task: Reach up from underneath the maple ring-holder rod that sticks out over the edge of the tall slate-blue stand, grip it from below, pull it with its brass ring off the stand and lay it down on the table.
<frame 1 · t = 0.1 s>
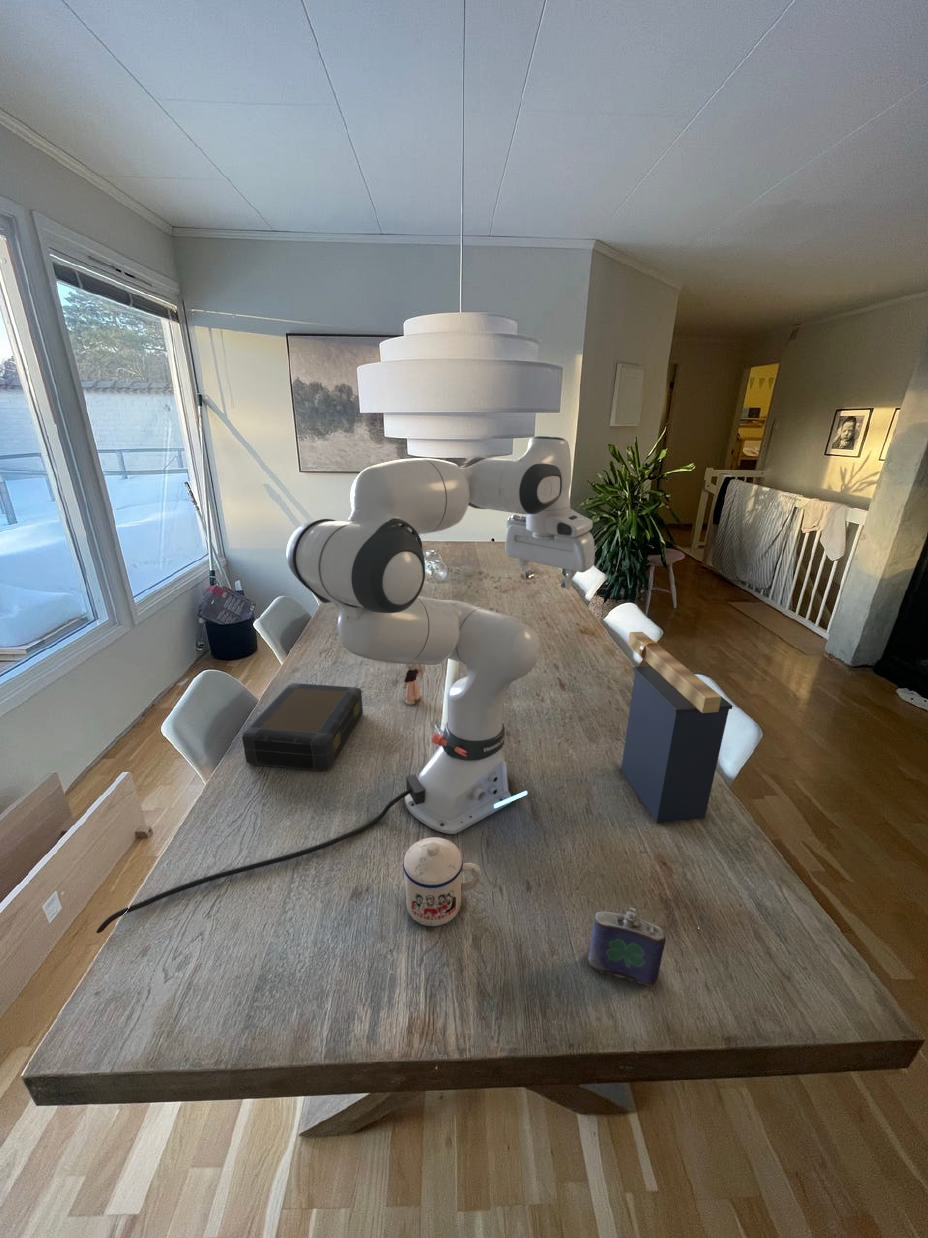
hand: (547, 582, 110), 39 cm above the table, tool pointing down, fingers open, 8 cm apart
teacup with lid: (442, 903, 81), on the table
stand: (660, 792, 106), on the table
ring rod: (667, 673, 101), point 25 cm above the table, touching stand
grandmother figurine: (412, 700, 140), on the table
flask: (621, 970, 72), on the table
black hard case: (308, 737, 124), on the table
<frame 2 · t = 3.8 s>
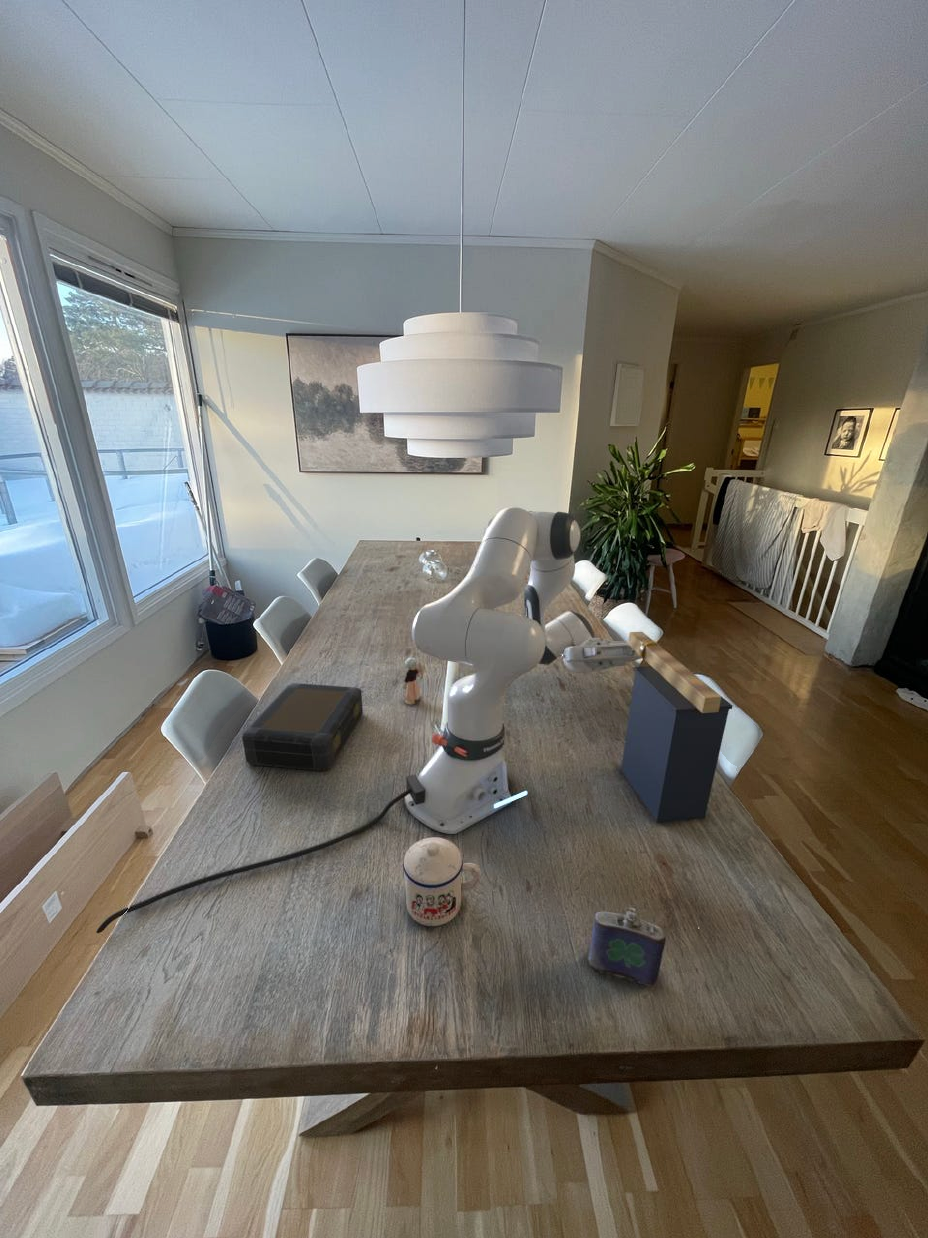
hand: (616, 649, 124), 20 cm above the table, tool pointing upward, fingers open, 8 cm apart
nothing on the table moved.
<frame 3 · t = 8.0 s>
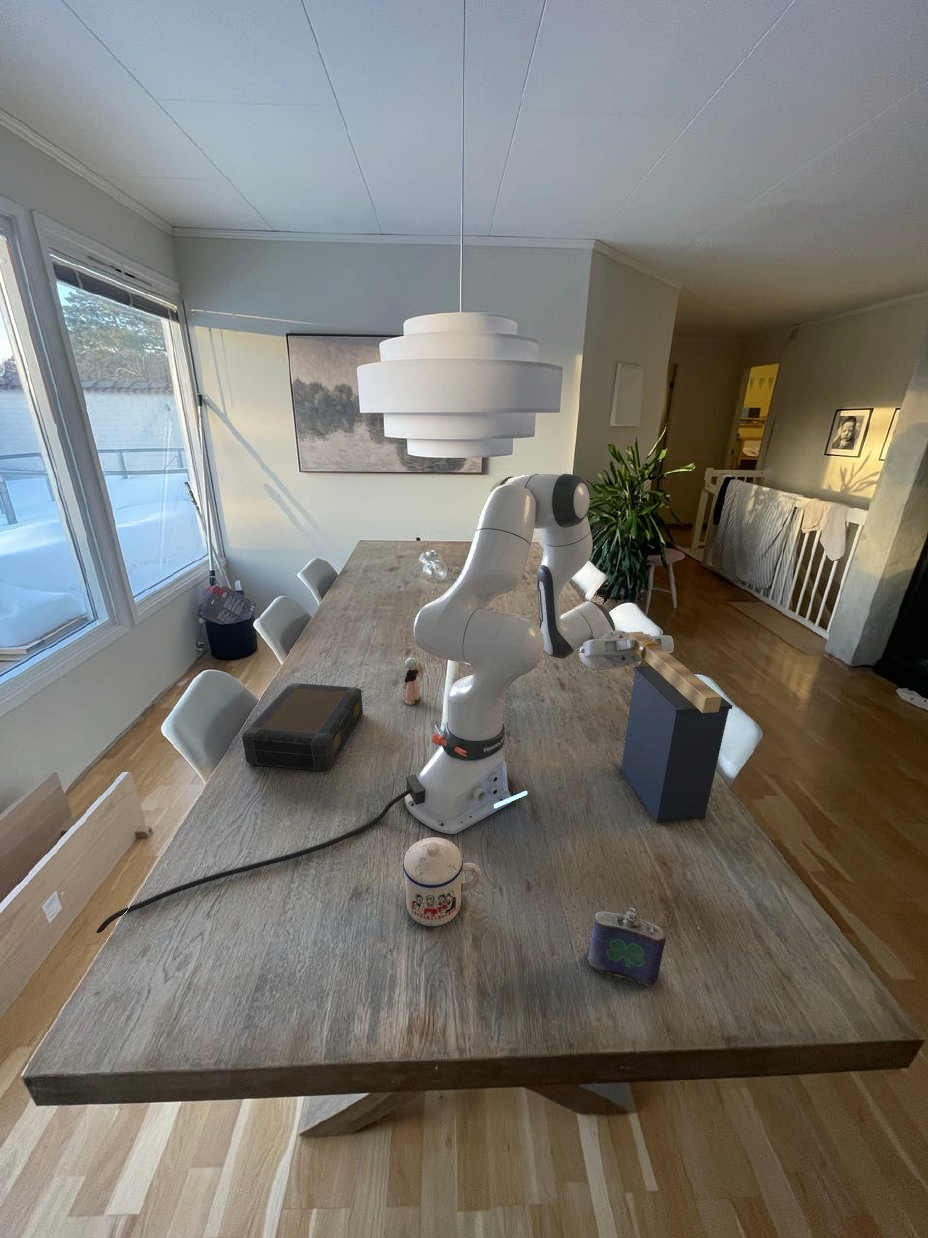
hand: (643, 643, 110), 27 cm above the table, tool pointing upward, fingers closed on ring rod, 3 cm apart
ring rod: (667, 673, 101), point 25 cm above the table, touching gripper, stand
everything else where it was.
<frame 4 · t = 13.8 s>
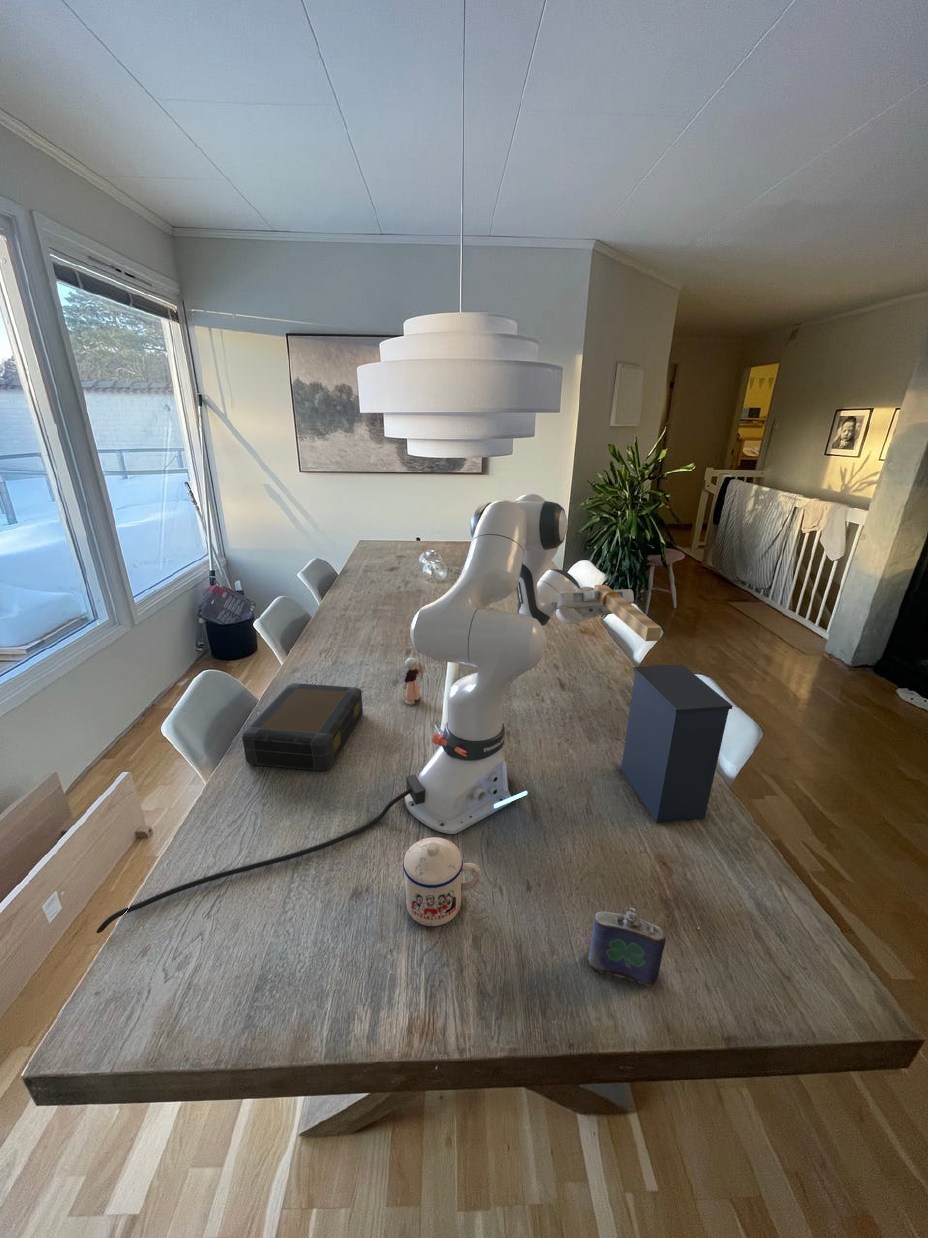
hand: (605, 593, 129), 31 cm above the table, tool pointing upward, fingers closed on ring rod, 3 cm apart
ring rod: (622, 616, 120), point 29 cm above the table, touching gripper
everything else where it was.
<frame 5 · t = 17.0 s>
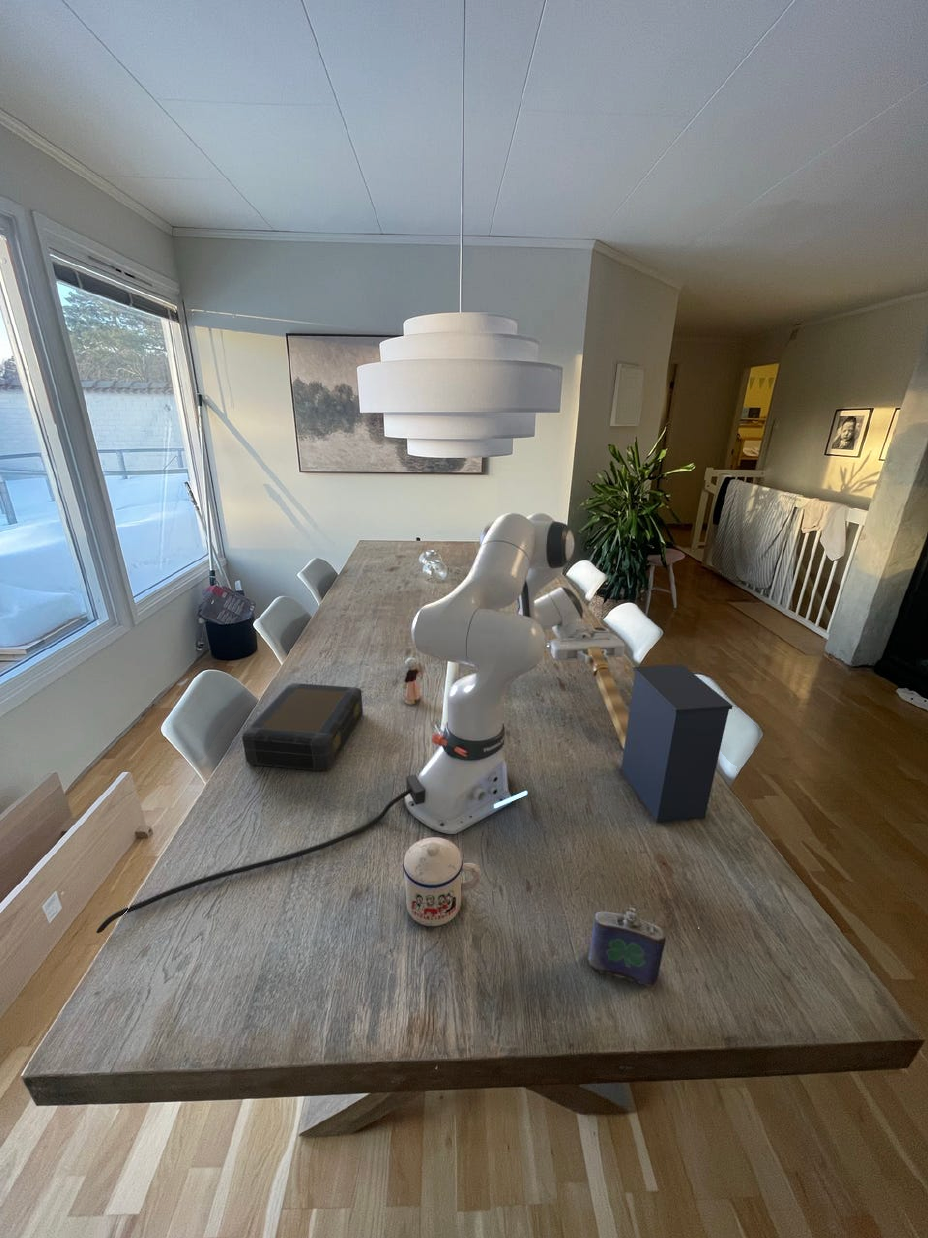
hand: (597, 660, 136), 12 cm above the table, tool horizontal, fingers closed on ring rod, 3 cm apart
ring rod: (608, 697, 130), point 6 cm above the table, tilted 25°, touching gripper
everything else where it was.
when the fingers open (6 cm above the table, at t = 19.7 s): ring rod drops 2 cm, on the table.
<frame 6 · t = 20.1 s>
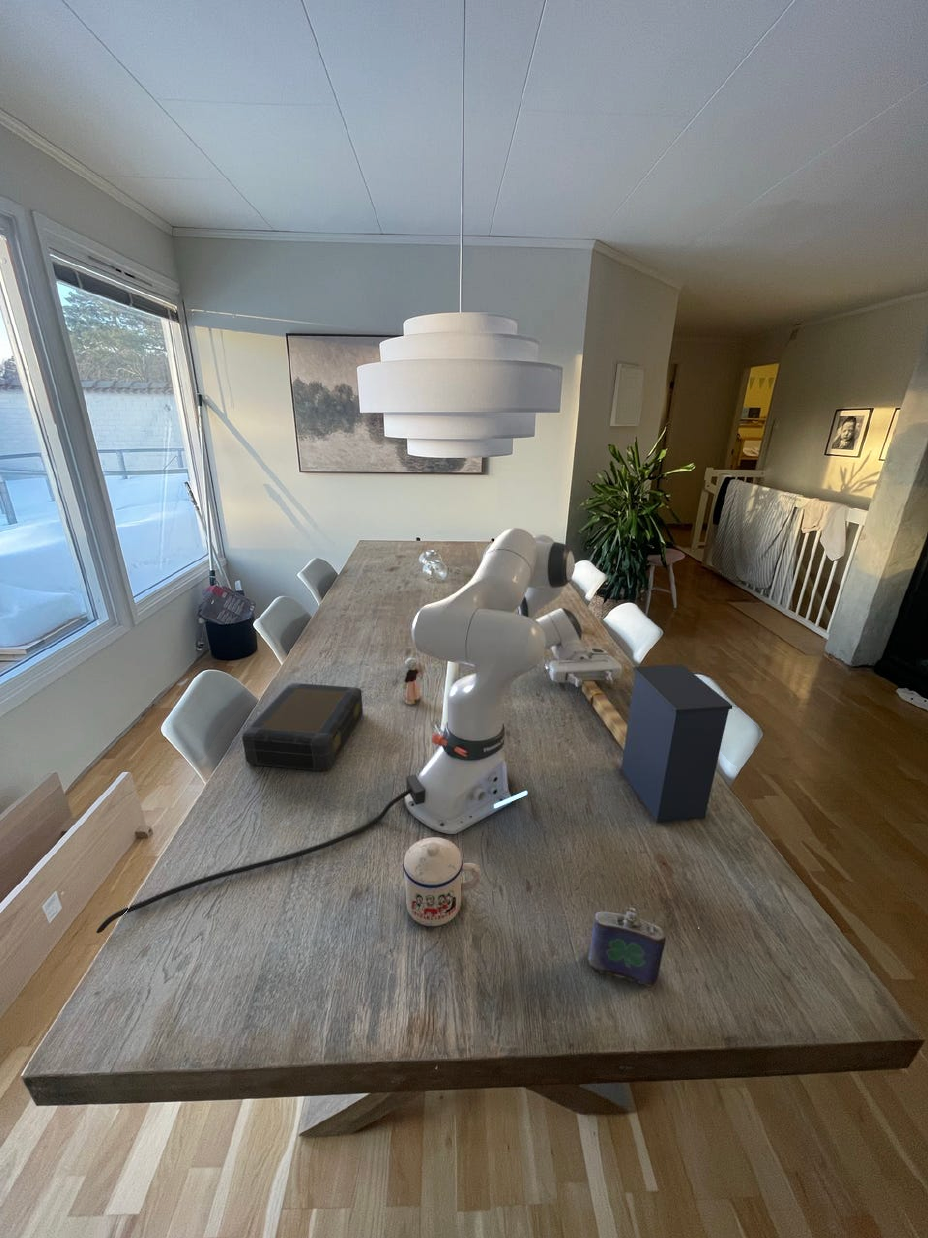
hand: (595, 683, 138), 6 cm above the table, tool horizontal, fingers open, 7 cm apart
ring rod: (607, 719, 131), on the table
everything else where it was.
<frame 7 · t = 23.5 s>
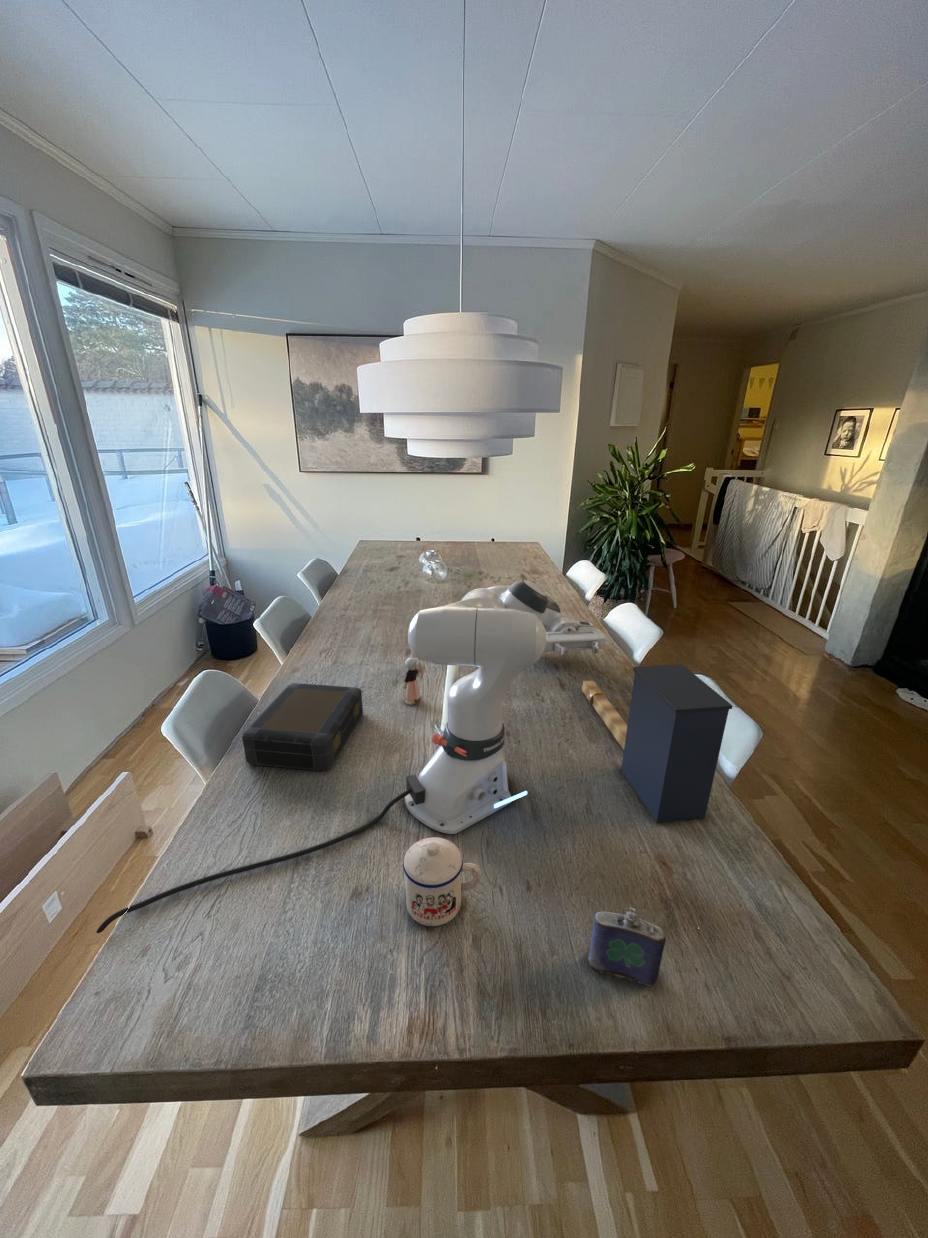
hand: (580, 652, 147), 10 cm above the table, tool horizontal, fingers open, 8 cm apart
nothing on the table moved.
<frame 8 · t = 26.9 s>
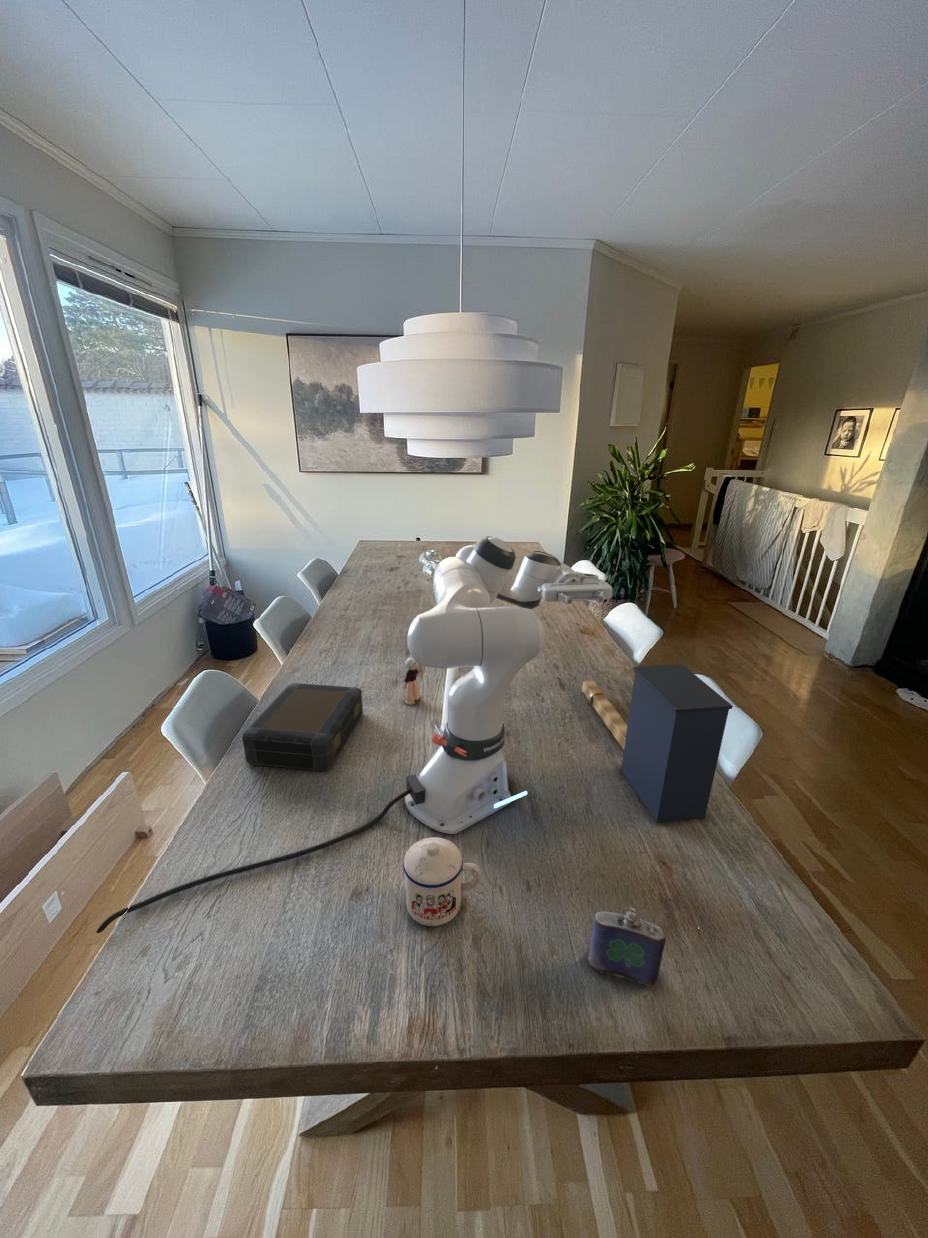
hand: (585, 600, 142), 25 cm above the table, tool horizontal, fingers open, 8 cm apart
nothing on the table moved.
at the end: ring rod point 0.5 cm above the table; ring rod moved 33.4 cm from its start; the gripper is holding nothing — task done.
